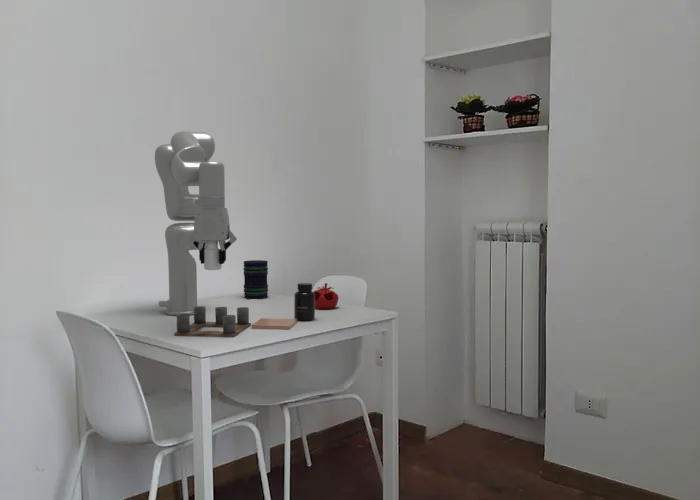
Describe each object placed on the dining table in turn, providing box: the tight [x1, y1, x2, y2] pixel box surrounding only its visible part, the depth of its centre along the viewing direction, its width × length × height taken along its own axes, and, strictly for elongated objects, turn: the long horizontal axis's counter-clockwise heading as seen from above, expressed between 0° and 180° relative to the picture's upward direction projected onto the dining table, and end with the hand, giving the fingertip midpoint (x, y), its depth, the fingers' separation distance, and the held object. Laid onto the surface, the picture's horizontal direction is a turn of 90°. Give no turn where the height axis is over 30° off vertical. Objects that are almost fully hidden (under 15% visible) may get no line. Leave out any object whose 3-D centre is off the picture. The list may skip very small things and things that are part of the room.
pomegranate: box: [313, 282, 339, 310], centre depth 237 cm, size 10×10×9 cm
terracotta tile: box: [250, 317, 298, 330], centre depth 204 cm, size 12×12×1 cm
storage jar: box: [242, 259, 269, 300], centre depth 262 cm, size 10×10×15 cm
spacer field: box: [173, 305, 252, 338], centre depth 195 cm, size 18×18×6 cm
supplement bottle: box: [293, 282, 316, 322], centre depth 213 cm, size 7×7×12 cm
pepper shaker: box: [203, 241, 222, 271], centre depth 194 cm, size 4×4×10 cm
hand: (212, 262), depth 194 cm, fingers closed on pepper shaker, 5 cm apart
